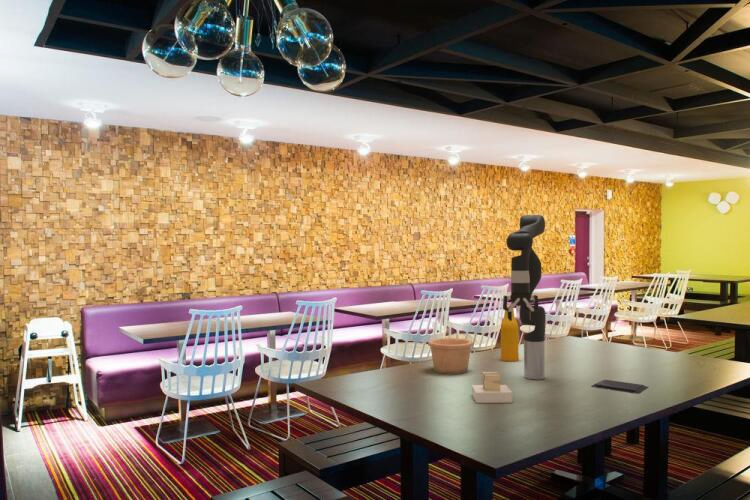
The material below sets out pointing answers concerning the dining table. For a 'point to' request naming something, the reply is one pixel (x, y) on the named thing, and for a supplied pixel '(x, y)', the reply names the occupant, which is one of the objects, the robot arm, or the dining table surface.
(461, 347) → the pottery
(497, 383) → the maple cube
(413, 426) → the dining table surface
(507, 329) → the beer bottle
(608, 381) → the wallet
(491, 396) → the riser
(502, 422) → the dining table surface
